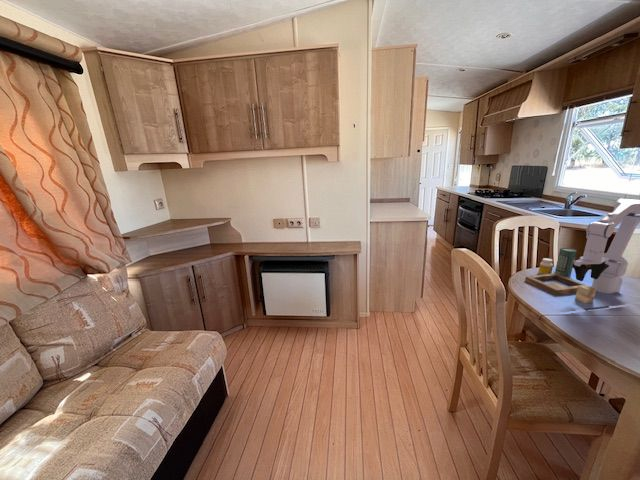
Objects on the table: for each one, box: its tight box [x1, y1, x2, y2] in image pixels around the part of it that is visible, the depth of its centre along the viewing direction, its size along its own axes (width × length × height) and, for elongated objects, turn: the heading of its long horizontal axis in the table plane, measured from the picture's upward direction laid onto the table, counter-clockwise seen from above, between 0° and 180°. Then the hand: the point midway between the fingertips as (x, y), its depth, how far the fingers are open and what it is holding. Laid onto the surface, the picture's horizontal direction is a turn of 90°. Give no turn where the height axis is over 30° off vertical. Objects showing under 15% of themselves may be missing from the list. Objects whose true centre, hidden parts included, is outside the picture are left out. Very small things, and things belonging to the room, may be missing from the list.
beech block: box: [574, 284, 597, 304], centre depth 114 cm, size 4×4×7 cm
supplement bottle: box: [537, 257, 554, 275], centre depth 141 cm, size 5×5×10 cm
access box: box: [524, 272, 586, 296], centre depth 128 cm, size 18×16×4 cm
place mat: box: [584, 305, 610, 311], centre depth 115 cm, size 11×11×1 cm
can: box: [554, 247, 578, 277], centre depth 139 cm, size 6×6×15 cm
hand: (586, 279), depth 114 cm, fingers open, 7 cm apart
